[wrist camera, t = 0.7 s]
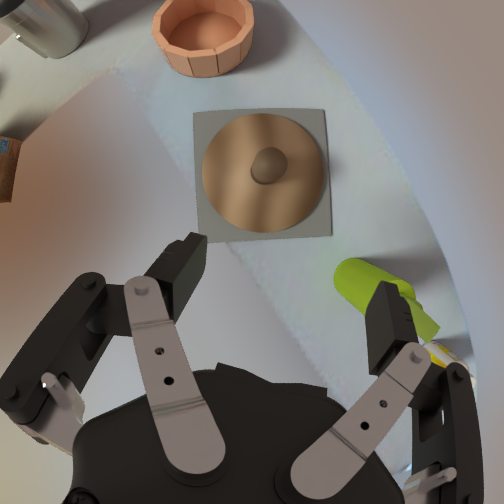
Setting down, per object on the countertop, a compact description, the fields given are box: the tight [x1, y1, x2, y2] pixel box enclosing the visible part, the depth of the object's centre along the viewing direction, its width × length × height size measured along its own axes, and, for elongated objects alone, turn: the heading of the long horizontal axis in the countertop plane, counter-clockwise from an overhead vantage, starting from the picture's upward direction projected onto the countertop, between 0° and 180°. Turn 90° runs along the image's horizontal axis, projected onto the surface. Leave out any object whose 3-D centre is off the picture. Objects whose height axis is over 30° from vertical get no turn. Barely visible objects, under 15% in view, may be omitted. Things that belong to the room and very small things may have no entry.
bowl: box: [152, 0, 254, 78], centre depth 32 cm, size 13×13×7 cm
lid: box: [202, 113, 324, 233], centre depth 34 cm, size 16×16×9 cm
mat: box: [193, 108, 331, 243], centre depth 39 cm, size 18×18×1 cm
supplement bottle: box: [423, 341, 476, 389], centre depth 39 cm, size 7×7×13 cm
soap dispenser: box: [334, 258, 440, 344], centre depth 32 cm, size 6×7×20 cm
